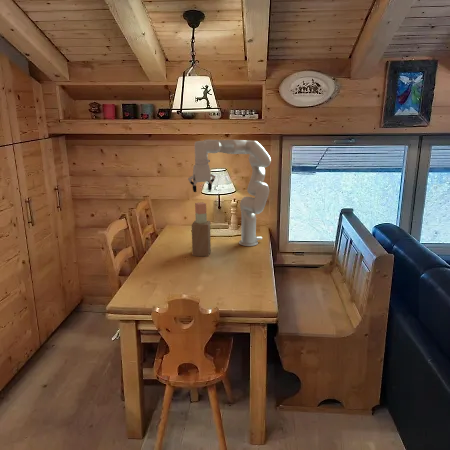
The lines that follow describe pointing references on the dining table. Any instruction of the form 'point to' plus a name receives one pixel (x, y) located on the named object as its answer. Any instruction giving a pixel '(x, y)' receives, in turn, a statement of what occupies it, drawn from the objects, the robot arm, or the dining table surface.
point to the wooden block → (201, 239)
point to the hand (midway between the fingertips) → (202, 191)
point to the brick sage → (201, 218)
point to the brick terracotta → (200, 208)
